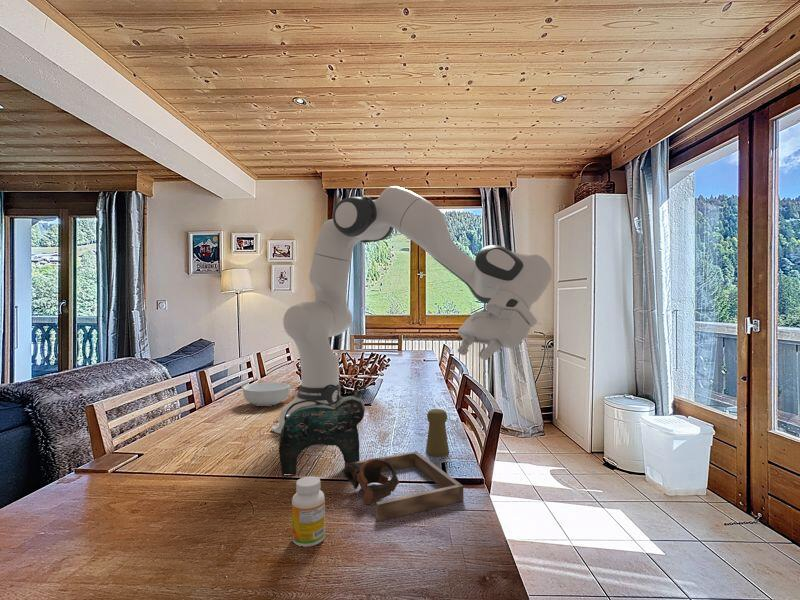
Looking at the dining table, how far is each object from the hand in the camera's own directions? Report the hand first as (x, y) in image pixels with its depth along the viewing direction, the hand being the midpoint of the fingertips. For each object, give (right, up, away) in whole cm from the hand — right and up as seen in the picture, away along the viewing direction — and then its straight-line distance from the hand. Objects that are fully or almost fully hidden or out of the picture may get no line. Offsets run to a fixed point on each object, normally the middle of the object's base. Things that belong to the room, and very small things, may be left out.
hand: (470, 355), depth 98 cm
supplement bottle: (-31, -28, -26) cm, 49 cm away
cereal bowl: (-66, -27, +65) cm, 97 cm away
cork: (-6, -27, +14) cm, 31 cm away
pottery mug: (-22, -28, -9) cm, 37 cm away
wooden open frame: (-16, -27, -7) cm, 32 cm away
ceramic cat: (-34, -27, +3) cm, 44 cm away
